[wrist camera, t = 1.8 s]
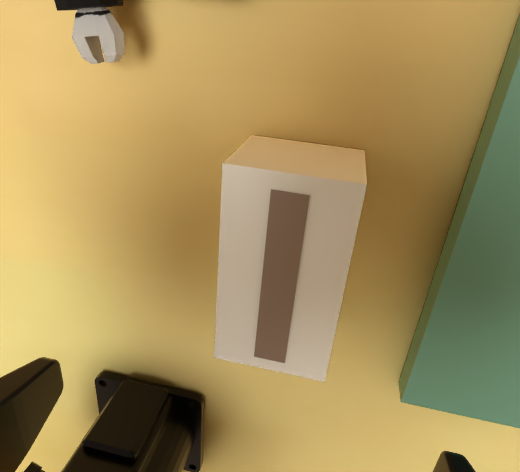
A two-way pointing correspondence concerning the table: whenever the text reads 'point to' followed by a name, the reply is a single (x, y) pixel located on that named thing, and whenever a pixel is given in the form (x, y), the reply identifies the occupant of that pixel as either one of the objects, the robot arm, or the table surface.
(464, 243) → the board
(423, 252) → the table surface
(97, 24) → the robot toy
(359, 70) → the table surface
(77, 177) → the table surface
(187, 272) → the table surface
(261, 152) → the block
